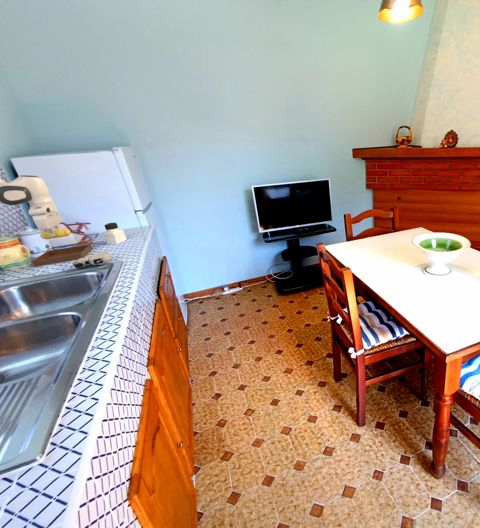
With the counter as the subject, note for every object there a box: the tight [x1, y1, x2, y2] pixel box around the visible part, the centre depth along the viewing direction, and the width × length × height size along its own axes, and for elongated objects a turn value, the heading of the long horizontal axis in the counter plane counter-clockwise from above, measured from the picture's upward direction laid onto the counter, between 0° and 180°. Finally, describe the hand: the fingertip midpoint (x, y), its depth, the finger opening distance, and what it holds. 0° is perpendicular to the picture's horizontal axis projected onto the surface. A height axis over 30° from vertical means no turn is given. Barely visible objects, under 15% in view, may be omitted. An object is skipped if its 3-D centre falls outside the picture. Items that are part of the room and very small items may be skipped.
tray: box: [31, 244, 93, 268], centre depth 160 cm, size 19×19×3 cm
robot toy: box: [70, 250, 112, 269], centre depth 146 cm, size 12×4×15 cm
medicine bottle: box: [102, 222, 127, 245], centre depth 180 cm, size 7×7×12 cm
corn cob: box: [39, 228, 72, 240], centre depth 155 cm, size 12×4×4 cm, turn 117°
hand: (55, 234), depth 155 cm, fingers closed on corn cob, 4 cm apart
